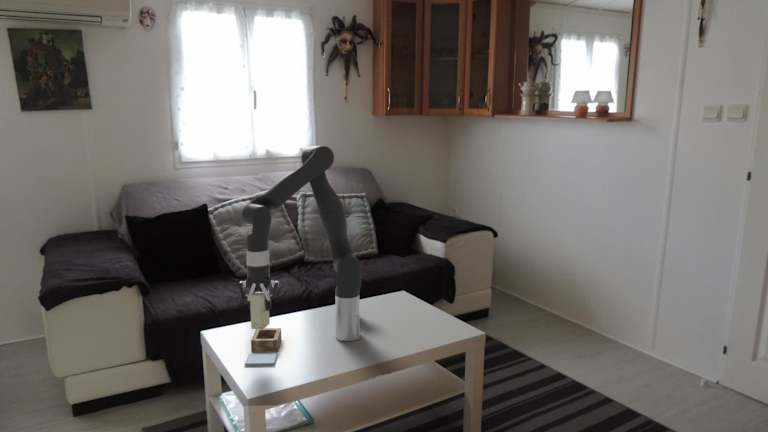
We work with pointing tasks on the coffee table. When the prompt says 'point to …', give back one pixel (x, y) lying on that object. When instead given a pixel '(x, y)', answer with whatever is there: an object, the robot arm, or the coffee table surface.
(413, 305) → the coffee table surface
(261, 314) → the skincare box
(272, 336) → the pocket block
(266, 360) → the pad
